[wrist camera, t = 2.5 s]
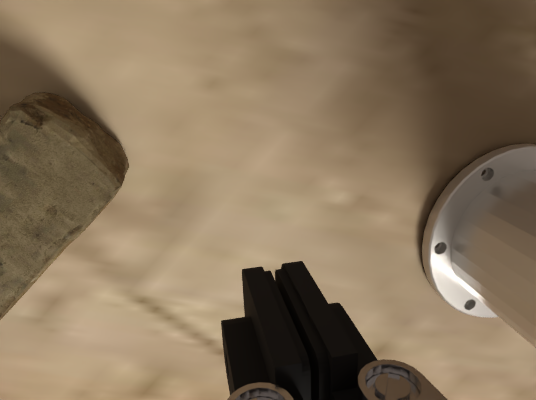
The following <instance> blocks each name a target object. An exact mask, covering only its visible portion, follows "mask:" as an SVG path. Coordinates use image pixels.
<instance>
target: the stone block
mask: <svg viewBox="0 0 536 400" xmlns="http://www.w3.org/2000/svg"><path fill="white" fill-rule="evenodd" d="M128 168H129V163H128V159H127V157H126V155H125V153H124V151H123V149H122V147H121V145H120V144H119V143H118V142H117V141H116V140H115V139H113V138H112V137H111V136H109V135H108V134H107V133H105V132H104V131H103V130H102V129H101V127H100V126H99V125H98V124H97V123H96V122H94V121H93V120H91V119H89V118H87V117H85V116H84V115H83V114H82V113H80V112H79V111H78V110H77V109H76V108H75V107H73V106H72V104H71V103H70V102H69V101H67V100H66V99H64V98H62V97H60V96H58V95H54V94H50V93H45V92H44V93H33V94H32V95H29V96H26V98H25V99H24V100H23V101H22V102H20V103H17V104H15V105H13V106H11V107H10V109H9V110H8V112H7V113H6V114H5V116H4V117H3V118H2V120H1V121H0V319H1V318H2V317H3V316H4V315H5V314H6V313H7V312H8V311H9V310H10V309H11V308H12V307H13V306H14V305H15V304H16V302H17V301H18V300H19V299H20V298H21V297H22V296H23V295H24V294H25V293H26V292H27V291H28V289H29V288H30V287H31V286H32V285H33V284H34V283H35V282H36V280H37V279H38V278H39V277H40V276H41V275H42V274H43V273H44V271H45V270H46V269H47V268H48V267H49V266H50V265H51V264H52V262H53V261H54V260H55V259H56V258H57V257H58V256H59V255H60V254H61V253H62V252H63V250H64V249H65V248H66V247H67V246H68V245H69V244H70V243H71V242H72V241H74V240H75V239H76V238H77V237H78V236H79V235H80V234H81V233H82V232H83V231H84V230H85V229H86V228H87V227H88V226H89V225H90V224H91V223H92V222H93V221H94V219H95V218H96V217H97V216H98V215H99V214H100V213H101V211H102V210H103V209H104V208H105V207H106V206H107V205H108V204H109V203H110V201H111V200H112V199H113V198H114V197H115V195H116V194H117V192H118V191H119V189H120V188H121V186H122V183H123V181H124V178H125V174H126V172H127V170H128Z"/></svg>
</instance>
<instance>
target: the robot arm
mask: <svg viewBox="0 0 536 400" xmlns="http://www.w3.org/2000/svg"><path fill="white" fill-rule="evenodd" d="M422 258H423V266H424V269H425V273H426V276H427V279H428V280H429V282H430V284H431V286H432V288H433V289H434V290H435V291H436V292H437V294H438V295H439V296H440V297H441V298H442V299H443V300H444V301H446V302H447V303H448V304H449V305H450V306H452V307H453V308H454V309H456V310H458V311H460V312H462V313H464V314H467V315H471V316H475V317H487V318H494V317H499V318H501V319H502V320H503V321H504V322H505V323H507V324H508V325H509V326H510V327H511V328H513V329H514V330H515V331H516V332H517V333H519V334H520V335H521V336H522V337H523V338H525V339H526V340H527V341H528V342H529V343H531V344H532V345H533V346H534V347H535V348H536V144H528V143H527V144H516V145H509V146H506V147H503V148H499V149H496V150H493V151H491V152H489V153H487V154H485V155H483V156H481V157H479V158H478V159H476V160H475V161H474V162H472V163H471V164H469V165H468V166H467V167H465V168H464V169H463V170H462V171H461V172H460V173H459V174H458V175H457V176H456V177H455V178H454V179H453V180H452V181H451V182H450V183H449V184H448V185H447V187H446V188H445V189H444V191H443V192H442V193H441V195H440V196H439V198H438V199H437V201H436V203H435V205H434V207H433V209H432V211H431V213H430V215H429V218H428V221H427V224H426V227H425V230H424V236H423V243H422ZM242 281H243V296H244V311H245V317H242V318H235V319H229V320H223V321H221V326H222V338H223V348H224V357H225V365H226V373H227V379H228V385H229V391H230V397H229V398H228V399H227V400H447V399H446V398H445V397H444V396H443V395H442V394H441V393H440V392H439V391H438V390H437V389H436V388H435V387H434V386H433V385H432V384H431V383H430V382H429V381H428V380H427V379H426V378H425V377H424V376H423V375H422V374H421V373H420V372H419V371H418V370H416V369H415V368H414V367H412V366H410V365H408V364H406V363H404V362H400V361H396V360H384V359H383V360H377V359H376V357H375V356H374V354H373V352H372V351H371V349H370V348H369V346H368V345H367V343H366V342H365V340H364V339H363V337H362V336H361V334H360V333H359V331H358V330H357V328H356V327H355V325H354V324H353V322H352V321H351V319H350V317H349V316H348V314H347V313H346V311H345V310H344V308H343V307H342V306H341V304H340V303H331V304H328V303H327V301H326V299H325V298H324V296H323V294H322V293H321V291H320V289H319V288H318V286H317V285H316V283H315V281H314V280H313V278H312V276H311V275H310V273H309V271H308V270H307V268H306V266H305V265H304V263H303V262H302V261H299V262H292V263H284V264H282V267H281V269H278V270H276V271H275V280H274V278H273V275H272V273H271V271H264V269H263V267H255V268H248V269H242Z"/></svg>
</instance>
